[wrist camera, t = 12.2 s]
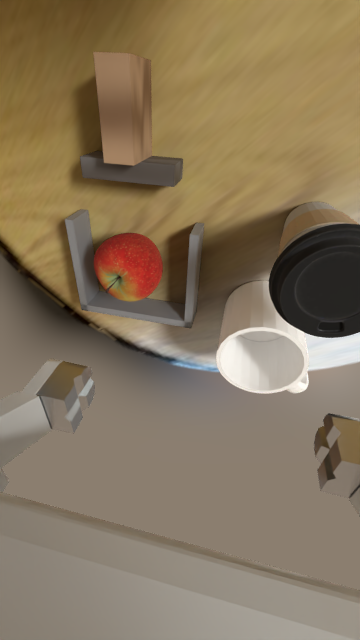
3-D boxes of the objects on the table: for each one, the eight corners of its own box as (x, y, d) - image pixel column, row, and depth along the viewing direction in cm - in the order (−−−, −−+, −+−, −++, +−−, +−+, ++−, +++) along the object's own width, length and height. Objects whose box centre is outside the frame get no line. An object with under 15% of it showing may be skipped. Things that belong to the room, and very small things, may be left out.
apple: (181, 266, 40) (162, 307, 33) (133, 286, 44) (105, 327, 36) (150, 210, 37) (120, 241, 29) (101, 236, 40) (62, 270, 33)
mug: (210, 309, 44) (198, 358, 35) (263, 264, 38) (264, 310, 30) (270, 359, 47) (272, 415, 38) (328, 324, 41) (344, 381, 33)
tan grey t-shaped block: (86, 57, 29) (53, 50, 25) (187, 61, 28) (172, 54, 23) (98, 170, 35) (73, 181, 31) (182, 178, 34) (169, 191, 29)
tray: (80, 209, 39) (64, 219, 36) (204, 223, 36) (198, 235, 33) (93, 295, 47) (81, 309, 43) (196, 311, 44) (191, 328, 41)
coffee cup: (289, 278, 38) (301, 359, 26) (252, 214, 35) (246, 275, 23) (371, 240, 33) (430, 318, 22) (337, 161, 30) (386, 204, 18)
